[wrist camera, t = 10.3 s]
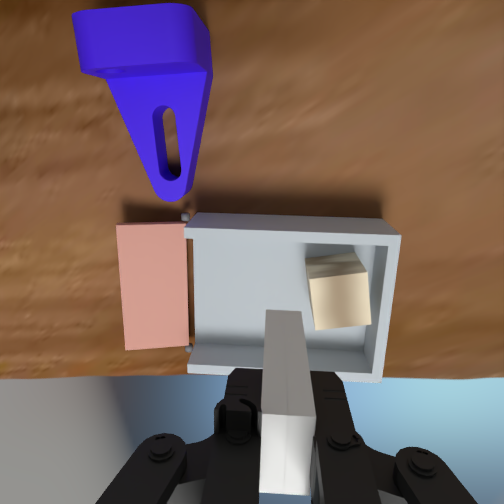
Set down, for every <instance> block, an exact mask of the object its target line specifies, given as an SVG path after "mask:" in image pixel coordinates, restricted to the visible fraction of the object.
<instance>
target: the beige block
mask: <svg viewBox="0 0 504 504" xmlns="http://www.w3.org/2000/svg"><path fill="white" fill-rule="evenodd" d="M305 266H306V274H307V283H308V291H309V299H310V306H311V311H312V316H313V321H314V326H315V330H325V329H334V328H343V327H352V326H361V325H370V324H371V312H370V298H369V285H368V272H367V271H366V269H365V267H364V266H363V264H362V263H361V261H360V259H359V258H358V256H357V255H356V253H355V252H351V253H343V254H335V255H327V256H319V257H312V258H305Z"/></svg>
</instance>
